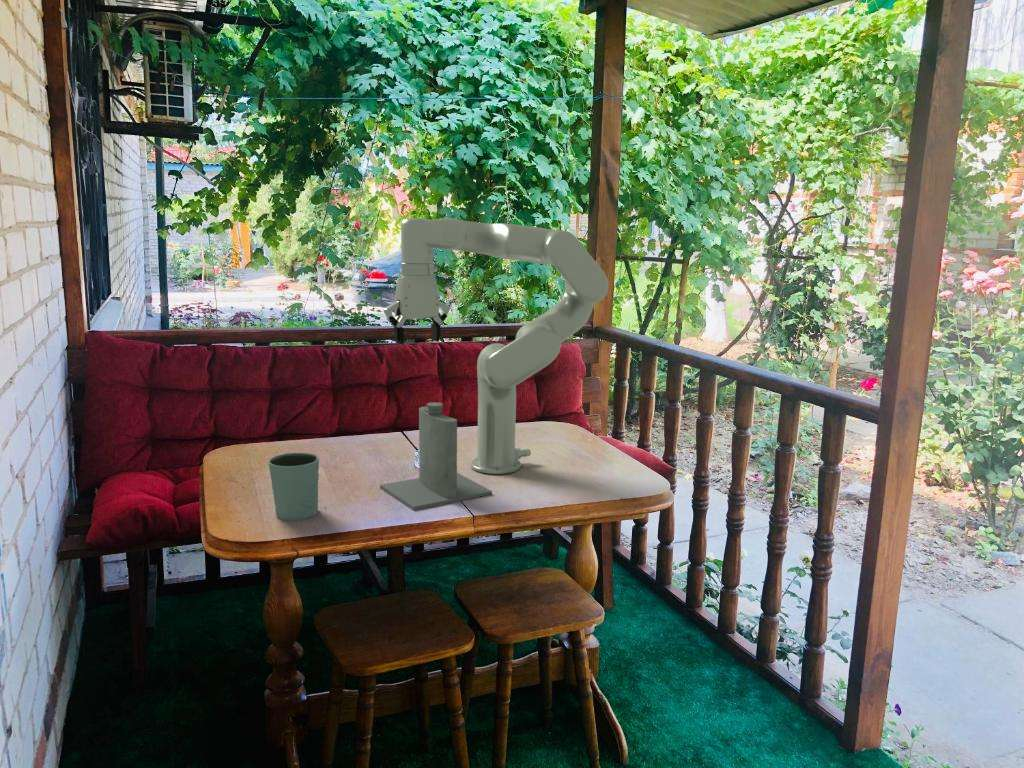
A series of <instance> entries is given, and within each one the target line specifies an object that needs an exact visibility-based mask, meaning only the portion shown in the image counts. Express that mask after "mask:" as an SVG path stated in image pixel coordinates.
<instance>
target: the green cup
mask: <svg viewBox="0 0 1024 768" xmlns="http://www.w3.org/2000/svg"><path fill="white" fill-rule="evenodd" d="M267 462H268V467H269V474H270V480H271V485H272V486H271V487H272V488H271V489H272V494H273V503H274V506H275V507H274V510H275V515H276V518H278V519H279V518H280V520H283V521H288V520H289V521H290V522H293V521H294V522H295V521H296V522H297V521H304V520H308V519H310V517H311V518H313V517H315V516H316V515H317V514H318V513H319V510H318V509H319V500H318V499H319V479H320V478H319V476H320V475H319V470H320V469H319V467H320V456H318V455H317V454H315V453H311V452H289V453H284V454H279V455H275V456H273V457H271V458H270V459H269V460H268V461H267ZM307 518H308V519H307ZM303 519H304V520H303Z"/></svg>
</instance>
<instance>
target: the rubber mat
mask: <svg viewBox="0 0 1024 768" xmlns="http://www.w3.org/2000/svg"><path fill="white" fill-rule="evenodd" d="M379 488H380V489H381V490H382V491H383V492H386V493H387V494H388V495H390V496H391V497H393V498H394V499H396V500H397V501H398V502H401V503H402V504H403V505H404V506H406V507H408V508H409V509H411V510H412V511H417V510H418V511H419V510H422V509H426V508H432V507H436V505H437V506H441V505H440V504H442V505H446V504H445V503H447V504H451V503H450V502H452V503H456V501H457V502H460V501H461V500H462V501H466V500H465V499H467V500H471V499H470V498H472V499H476V498H475V497H477V498H481V497H480V496H482V497H486V496H485V495H487V496H491V495H490V494H493V491H492V490H491V489H489V488H487V487H485V486H484V485H481V484H479V483H478V482H476V481H473V480H472V479H470V478H468V477H466V476H464V475H462V474H461V473H459V472H457V496H456V497H455V498H444V497H442V496H440V495H438V494H436V493H434V492H432V491H431V490H429V489H428V488H426V487H425V486H424V485H423V484H422V483H421V482H420V480H419V477H418V478H417V477H416V478H411V479H405V480H399V481H394V482H388V483H383V484H379ZM431 506H432V507H431Z"/></svg>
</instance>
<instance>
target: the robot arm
mask: <svg viewBox="0 0 1024 768" xmlns="http://www.w3.org/2000/svg"><path fill="white" fill-rule="evenodd" d="M400 239H401V240H400V241H401V243H400V244H401V245H400V246H401V247H400V250H401V251H400V252H401V253H400V254H401V255H400V257H401V260H400V261H401V265H400V266H401V267H400V268H401V270H400V272H401V276H398V277H397V282H396V287H395V292H394V293H395V294H394V302H393V303H391V304H389V305H387V306H386V307H384V308H383V310H382V311H383V314H384V315H385V317H386V320H387V321H388V322H389V323H390V324H391V326H392V327H393V338H394V341H395V343H396V344H399V345H403V344H404V343H405V340H404V339H405V337H404V336H405V331H404V330H405V329H404V327H402V326H403V324H405V322H406V320H420V319H421V320H422V319H430V321H432V323H431V325H430V340H431V341H434V342H437V343H438V342H440V339H441V326H442V325H443V322H444V321H446V319H447V317H448V314H449V312H450V309H451V306H450V305H448V304H446V303H444V302H442V301H441V300H440V298H439V289H438V283H437V279H436V276H434V274H435V272H438V270H439V268H438V266H437V265H435V263H434V249H439V250H443V251H445V250H446V251H460V252H467V253H475V254H481V255H487V256H491V257H492V258H496V259H503V260H509V261H517V262H525V263H531V264H532V263H534V264H541V265H542V264H543V265H549V266H553V267H554V268H555V269H556V271H557V272H558V273H559V275H560V276H561V277H562V278H563V280H564V285H565V286H564V293H563V296H562V297H561V299H560V300H559V302H558V303H556V304H555V305H554V306H553V307H551V308H550V309H548V310H547V311H545V312H544V313H542V314H541V315H539V316H537V317H535V318H534V319H531V321H529V322H527V323H525V324H524V325H523V326H521V327H520V328H519V329H518V331H517V332H516V335H515V339H514V340H512V341H511V342H510V343H508V344H507V345H506V344H502V343H491V344H488V345H486V346H485V347H484V348H483V349H482V350H481V351H480V353H479V355H478V357H477V363H476V370H477V371H476V372H477V373H476V375H477V376H476V377H477V458H474V459H473V460H472V461H471V465H470V466H471V468H472V469H473V470H474V471H476V472H479V473H482V474H488V475H489V474H490V475H493V474H494V475H503V474H511V473H514V472H517V471H519V470H520V469H521V467H522V464H521V461H520V459H521V458H523V457H524V458H525V457H530V456H531V454H532V450H531V449H530V448H525V449H521V448H519V447H517V448H516V417H517V411H516V410H517V385H519V384H521V383H523V382H524V381H525V380H527V379H529V378H530V377H532V376H534V375H536V374H537V373H539V372H540V371H541V370H543V369H544V368H546V367H548V366H549V365H550V364H551V363H552V362H554V360H556V358H558V357H557V356H559V354H560V352H561V348H562V347H561V346H562V343H563V342H564V341H566V340H568V339H569V338H570V337H571V336H573V335H574V334H576V333H577V332H578V331H580V330H581V329H582V328H583V327H584V326H585V325H586V324H587V322H588V321H589V319H590V317H591V315H592V312H593V310H594V306H595V304H596V303H598V302H600V301H602V300H603V299H604V298H605V297H606V296H607V295H608V291H609V286H610V284H609V283H610V282H609V280H608V277H607V275H606V273H605V272H604V270H603V269H602V268H601V267H600V265H599V264H598V263H597V261H596V260H595V259H594V258H593V256H592V255H591V254H590V253H589V251H588V250H587V249H586V248H585V246H584V245H583V244H582V242H580V240H579V239H578V238H577V237H576V236H575V235H574V234H573V233H572V232H570V231H568V230H562V229H561V230H559V229H551V228H544V227H537V226H528V225H521V224H513V223H504V222H503V223H502V222H501V223H500V222H498V223H487V222H485V223H484V222H478V221H476V222H475V221H471V220H470V221H469V220H462V219H461V220H460V219H457V218H454V217H444V218H437V219H429V218H424V217H423V218H422V217H421V218H420V217H419V218H418V217H415V218H414V217H408V218H404V219H403V220H402V221H401V223H400ZM440 309H441V313H440ZM393 312H394V315H395V316H393Z"/></svg>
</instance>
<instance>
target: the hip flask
mask: <svg viewBox="0 0 1024 768" xmlns="http://www.w3.org/2000/svg"><path fill="white" fill-rule="evenodd" d="M443 407H444V404H443V403H442V402H435V401H434V402H428V403H426V406H420V407H419V408H418V457H419V459H418V463H419V464H418V465H419V466H418V469H419V470H418V473H419V475H418V476H419V477H418V478H419V480H420V482H421V483H422V484H423V485H424V486H425V487H426V488H428V489H429V490H431V491H432V492H434V493H436V494H438V495H440V496H442V497H444V498H455V497H456V496H457V473H458V466H457V465H458V419H457V418H454V417H450V416H447V415H445V414H443Z"/></svg>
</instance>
